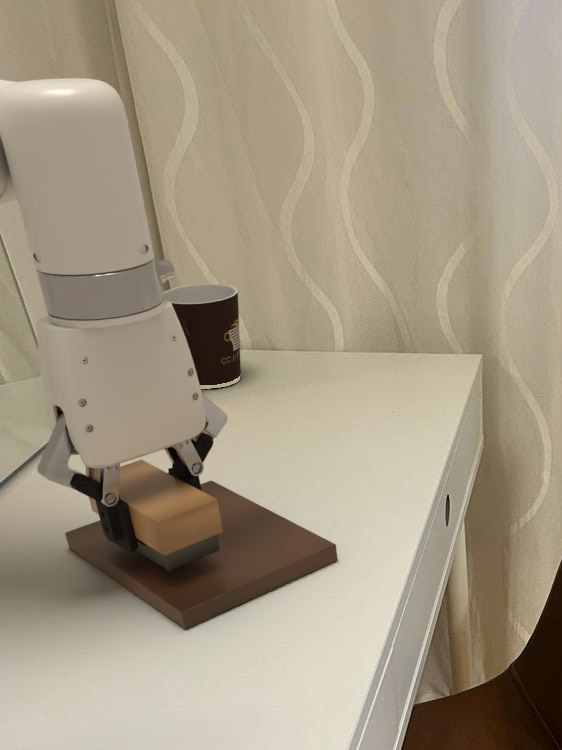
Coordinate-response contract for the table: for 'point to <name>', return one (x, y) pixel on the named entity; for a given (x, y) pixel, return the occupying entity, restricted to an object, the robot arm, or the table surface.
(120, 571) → the board
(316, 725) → the table surface
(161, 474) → the brush
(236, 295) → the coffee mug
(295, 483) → the table surface
